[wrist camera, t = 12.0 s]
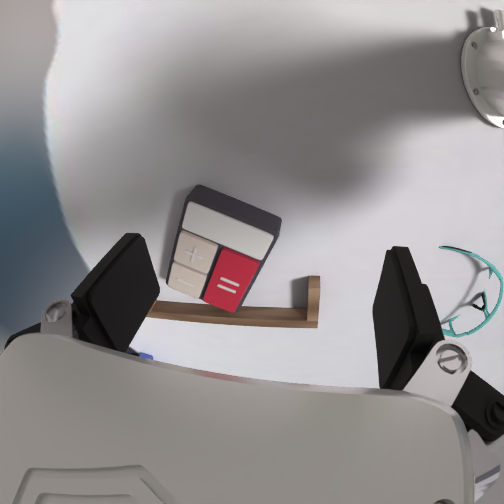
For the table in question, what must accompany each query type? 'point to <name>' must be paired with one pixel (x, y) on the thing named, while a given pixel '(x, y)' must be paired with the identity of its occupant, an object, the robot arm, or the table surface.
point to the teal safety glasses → (484, 307)
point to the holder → (244, 312)
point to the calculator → (220, 248)
